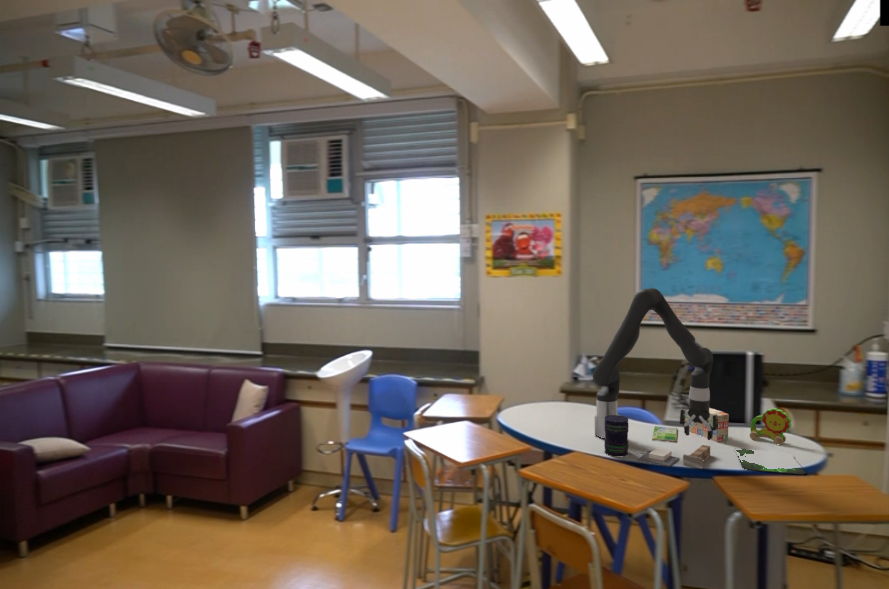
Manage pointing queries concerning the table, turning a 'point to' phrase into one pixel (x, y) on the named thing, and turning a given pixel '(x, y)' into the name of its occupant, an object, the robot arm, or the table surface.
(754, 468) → the mouse mat
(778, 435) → the toy lion
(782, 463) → the table surface
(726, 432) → the stack of blocks
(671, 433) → the green number board
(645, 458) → the mat
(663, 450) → the tile
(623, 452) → the storage jar
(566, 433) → the table surface
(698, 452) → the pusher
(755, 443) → the table surface
